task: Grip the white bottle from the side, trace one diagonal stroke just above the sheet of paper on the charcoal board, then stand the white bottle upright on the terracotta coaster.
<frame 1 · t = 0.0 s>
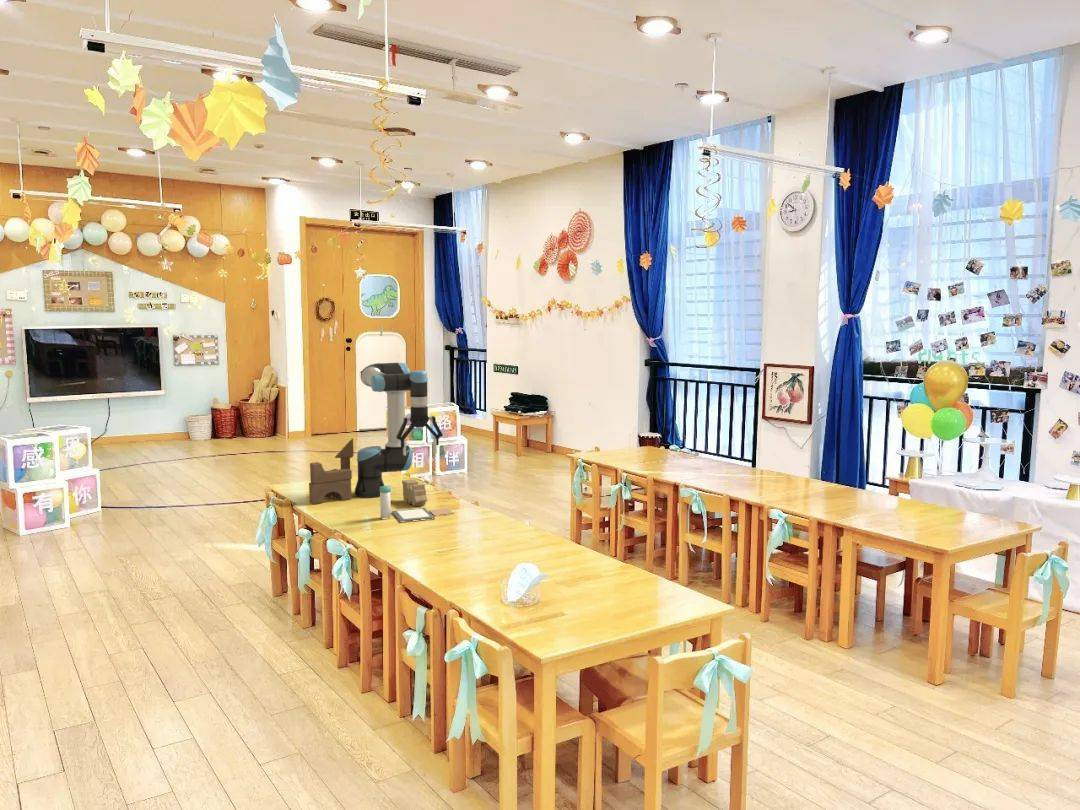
hand: (419, 453, 350), 28 cm above the table, tool pointing down, fingers open, 13 cm apart
white bottle: (385, 518, 349), on the table
wooden blocks: (330, 497, 387), on the table
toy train: (414, 503, 375), on the table
coaster: (441, 513, 358), on the table
writing board: (413, 515, 353), on the table
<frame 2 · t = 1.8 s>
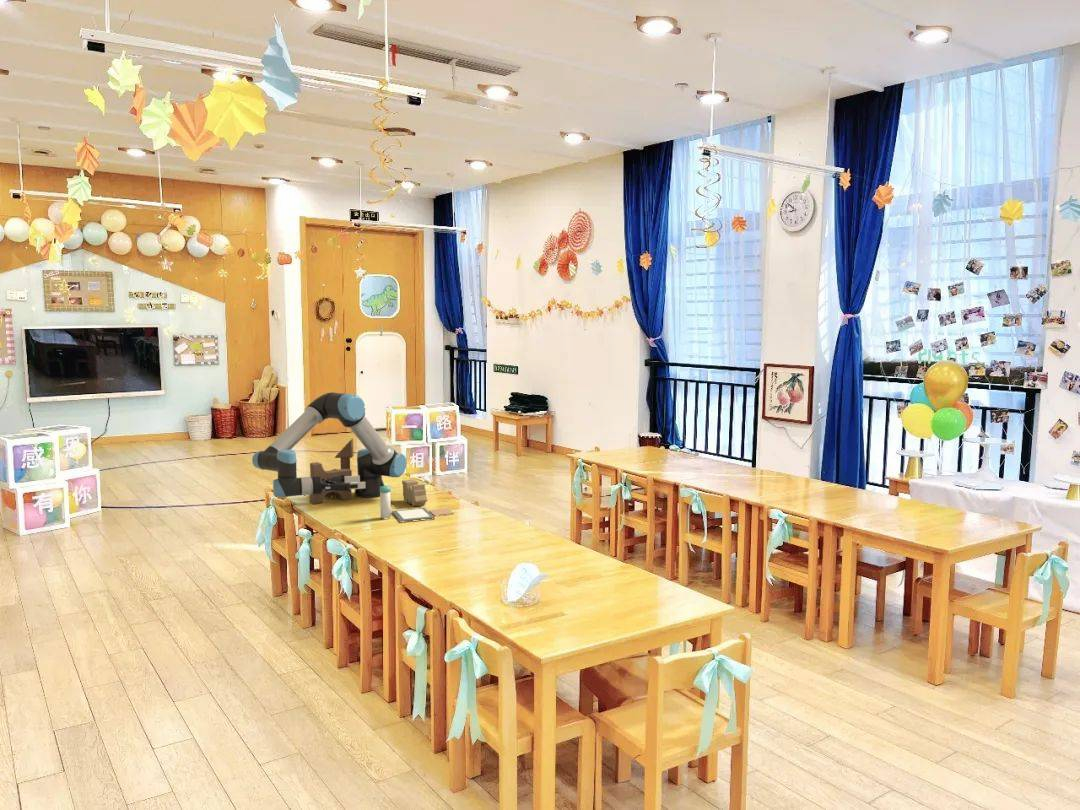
hand: (362, 481, 343), 17 cm above the table, tool horizontal, fingers open, 13 cm apart
nothing on the table moved.
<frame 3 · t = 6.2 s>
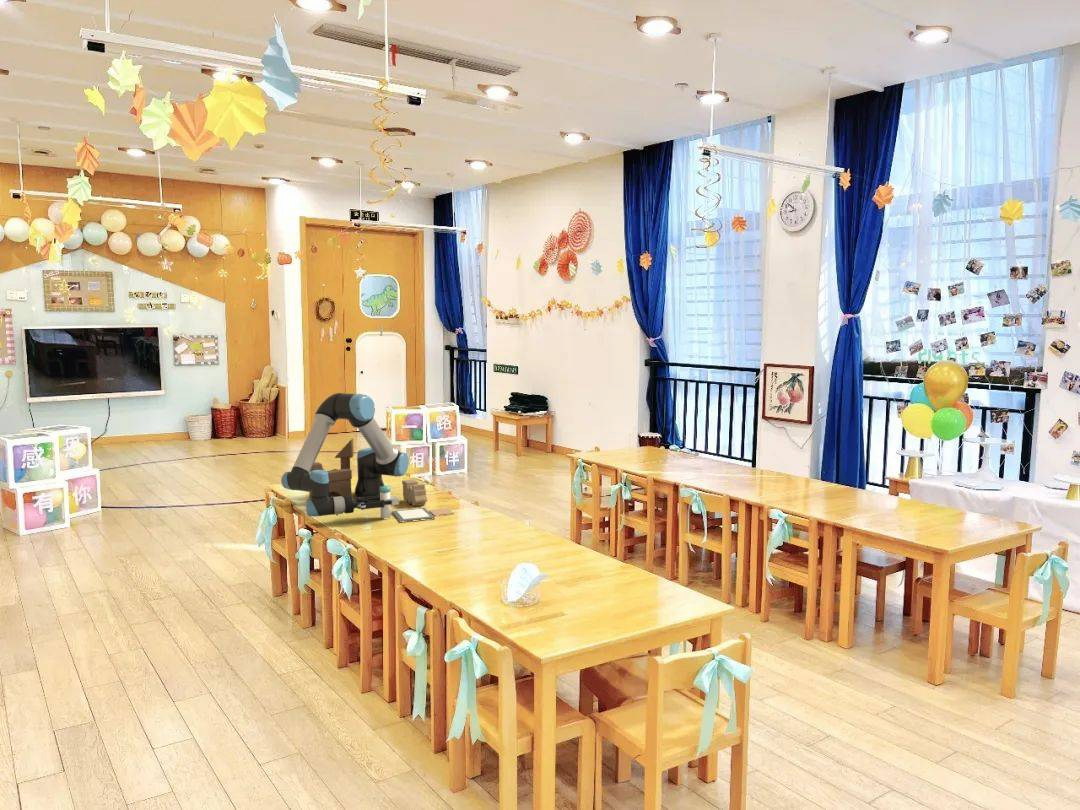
hand: (397, 499, 350), 8 cm above the table, tool horizontal, fingers closed on white bottle, 4 cm apart
white bottle: (385, 518, 349), on the table, touching gripper
everything else where it was.
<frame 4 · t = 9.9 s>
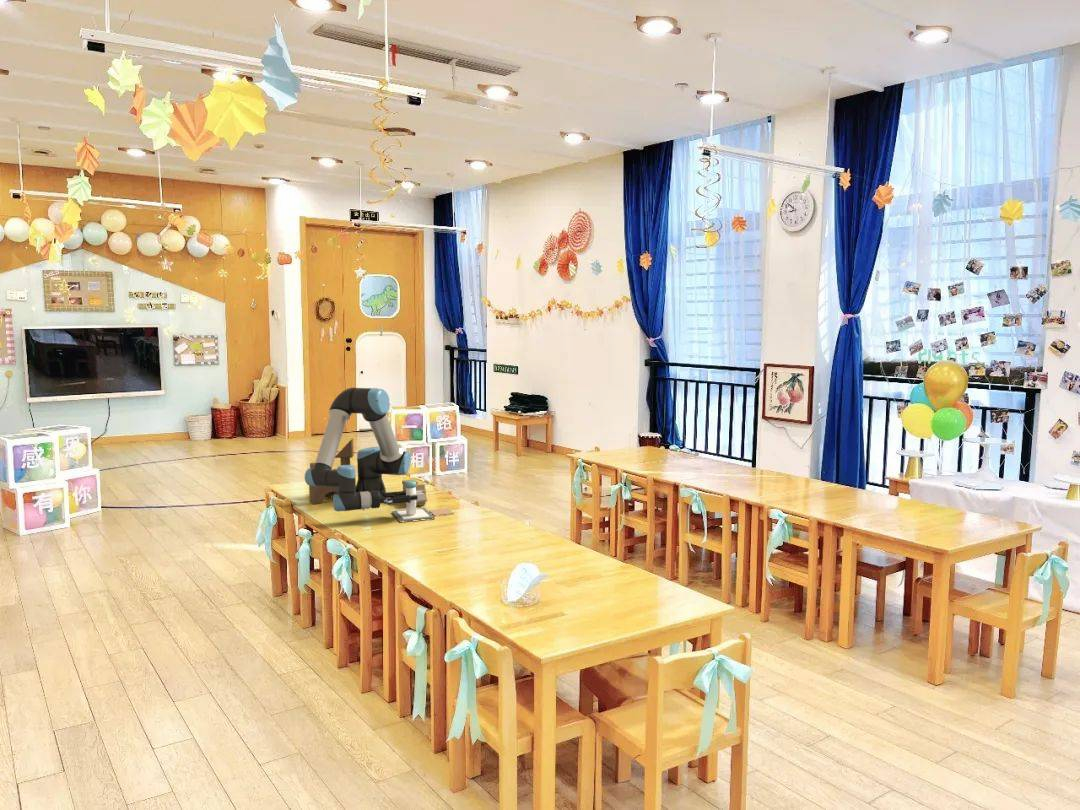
hand: (422, 495, 352), 9 cm above the table, tool horizontal, fingers closed on white bottle, 4 cm apart
white bottle: (411, 513, 351), point 2 cm above the table, touching gripper
everything else where it was.
when the fingers open (10 cm above the table, at t = 13.9 s): white bottle drops 1 cm, resting on coaster.
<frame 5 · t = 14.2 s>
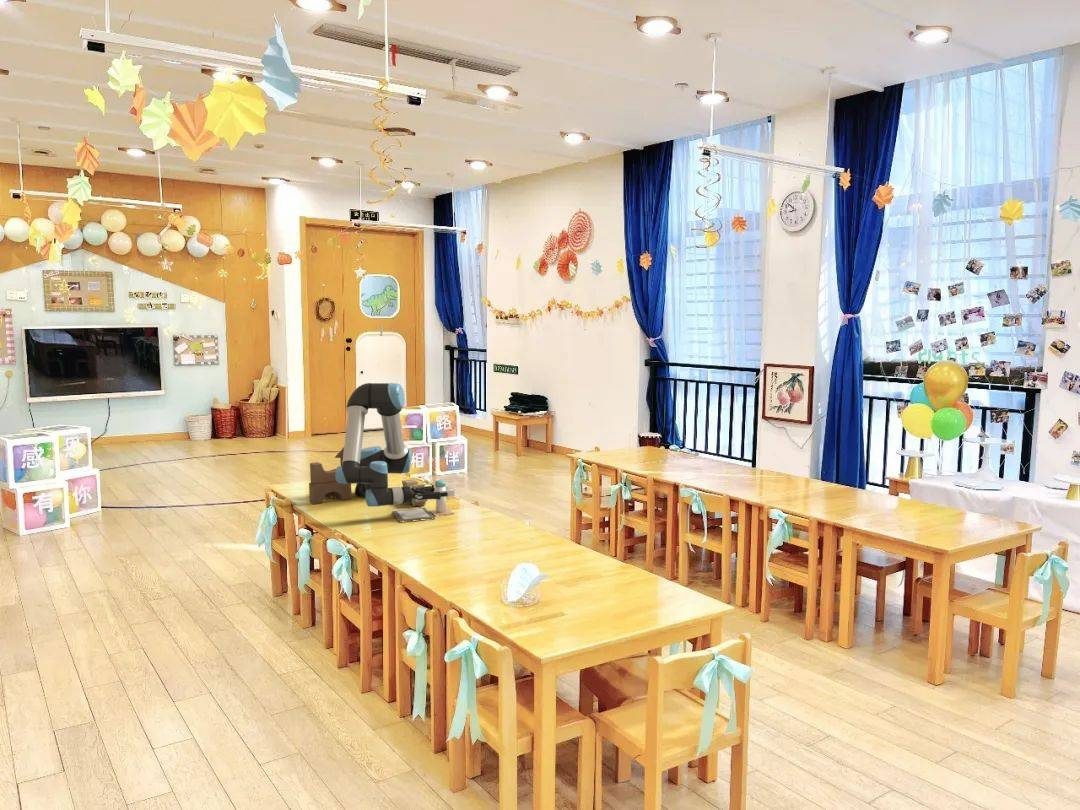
hand: (451, 490, 358), 10 cm above the table, tool horizontal, fingers open, 8 cm apart
white bottle: (441, 511, 358), point 1 cm above the table, touching coaster
everything else where it was.
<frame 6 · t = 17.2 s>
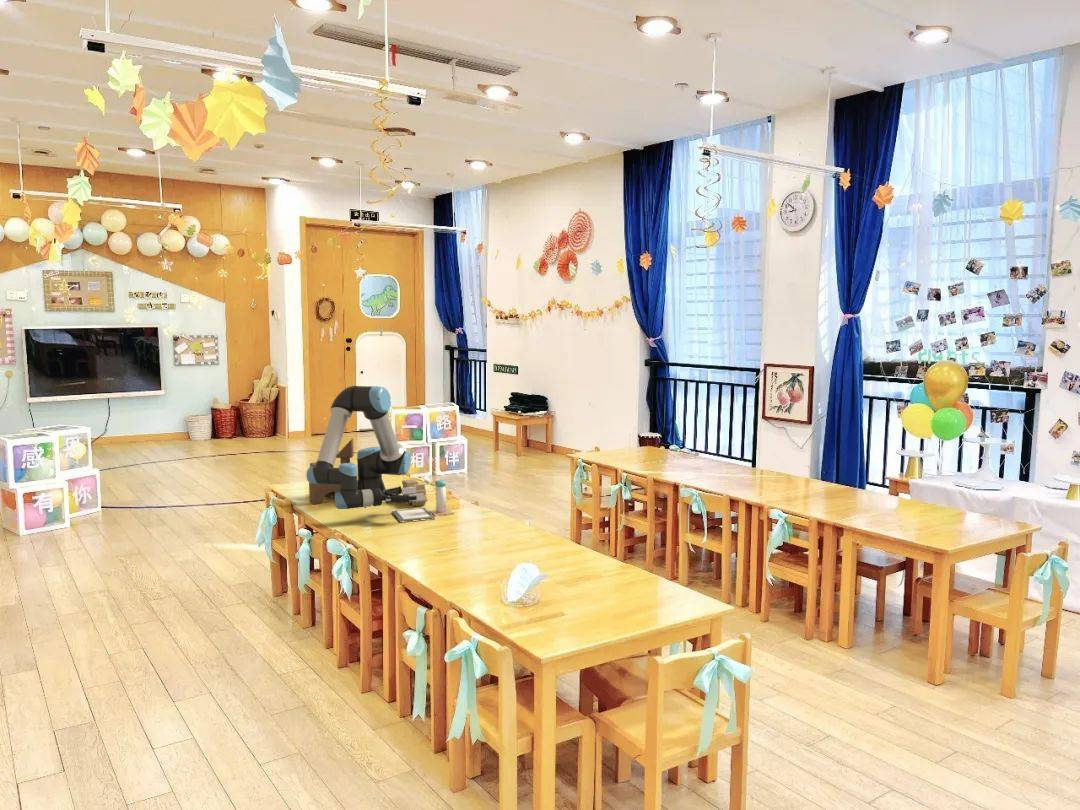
hand: (419, 493, 353), 10 cm above the table, tool horizontal, fingers open, 13 cm apart
nothing on the table moved.
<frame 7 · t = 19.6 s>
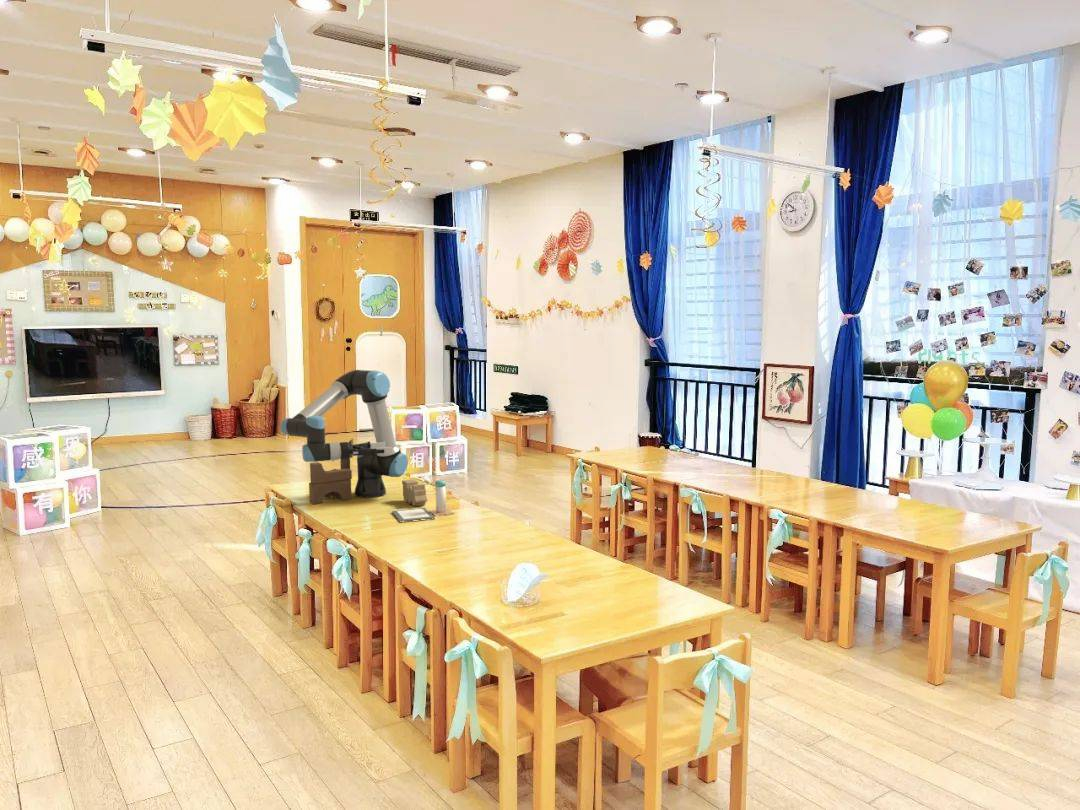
hand: (388, 447, 353), 30 cm above the table, tool horizontal, fingers open, 13 cm apart
nothing on the table moved.
at the end: white bottle inside the target area on the coaster (0.1 cm from its centre), point 0.7 cm above the coaster's base; white bottle tilted 1°; the gripper is holding nothing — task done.
